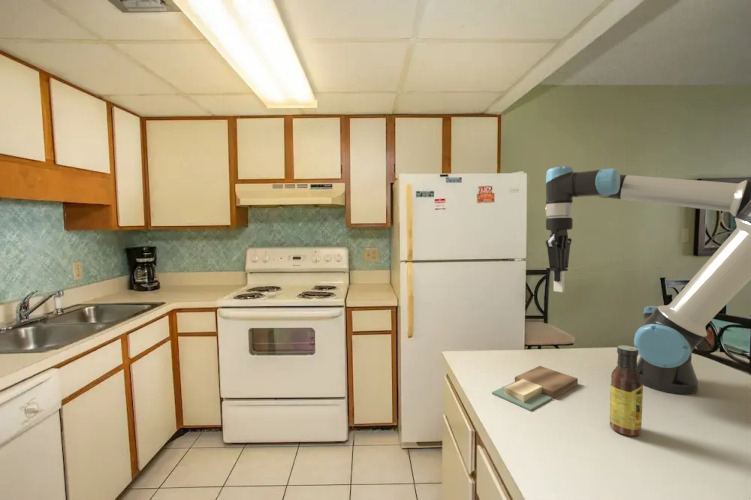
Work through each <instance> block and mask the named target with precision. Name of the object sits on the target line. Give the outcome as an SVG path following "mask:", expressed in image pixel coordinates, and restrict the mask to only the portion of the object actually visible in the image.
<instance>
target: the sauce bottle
mask: <svg viewBox="0 0 751 500" xmlns="http://www.w3.org/2000/svg"><path fill="white" fill-rule="evenodd" d="M616 348H617V349H616V353H617V363H616V364H617V365H616V367H614V369H613V370H612V372H611V376H610V377H611V383H610V389H609V390H610V391H609V395H610V396H609V397H610V398H609V425H610V428H611V429H612V430H614V432H616V433H619V434H621V435H625V436H627V437H628V436H629V437H634V436H635V437H636V436H637V437H638V436H639V435H640V433H641V430H642V419H643V418H642V417H643V401H644V399H643V397H644V395H643V393H644V391H643V390H644V385H643V382H642V379H641V377H640V374H639V371H638V368H637V363H638V357H639V356H638V355H639V354H638V349H637V348H635V346H630V345H617V347H616Z"/></svg>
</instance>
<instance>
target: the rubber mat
mask: <svg viewBox="0 0 751 500" xmlns="http://www.w3.org/2000/svg"><path fill="white" fill-rule="evenodd" d="M513 383H515V381H514V382H511V383H509V384H507V385H505V386H502V387H500V388H498V389H496V390H493V391H491V394H492V395H494V396H495V397H498V398H500V399H503V400H504V401H507V402H508V403H511V404H513V405H516V406H518V407H521V408H522V409H524V410H527V411H529V412H532V411H534V410H536V409H537V408H539V407H541V406H542V405H544V404H546V403H548V402H550V401H551V400H553V399H552V397H549V396H547V395H544V394H542V393H541V394H539V395H537V396H535V397H533V398H532V399H530V400H528V401H526V402H524V403H523V402H521V401H519V400H517V399H514V398H512V397H510V396H508V395H505V387H507V386H509V385H511V384H513Z"/></svg>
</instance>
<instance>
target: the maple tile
mask: <svg viewBox="0 0 751 500" xmlns="http://www.w3.org/2000/svg"><path fill="white" fill-rule="evenodd" d="M512 383H513V382H512ZM510 384H511V383H510ZM508 385H509V384H508ZM506 386H507V385H506ZM541 393H542V386H540V385H537V384H535V383H532V382H530V381H527V380H524V379H522V380H520V381H518V382H515V381H514V383H513V384H511V385H509V386H507V387H505V395H508V396H510V397H512V398H514V399H517V400H519V401H521V402H523V403H524V402H526V401H528V400H530V399H532V398H533V397H535V396H537V395H539V394H541Z"/></svg>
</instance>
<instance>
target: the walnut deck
mask: <svg viewBox="0 0 751 500" xmlns="http://www.w3.org/2000/svg"><path fill="white" fill-rule="evenodd" d="M522 379H524V380H527V381H530V382H532V383H535V384H537V385H540V386H542V394H544V395H547V396H549V397H552V400H553V399H555V398H557V397H558V396H561V395H562V394H564V393H566V392H568V391H569V390H571V389H573V388H575V387H576V386H578V383H579V379H578V378H577V377H575V376H571V375H569V374H565V373H562V372H560V371H557V370H553V369H551V368H548V367H545V366H542V365H539V366H537V367H534V368H531V369H530V370H528V371H525V372H523V373H521V374H519V375H516V376H514V383H515V382H518V381H520V380H522Z"/></svg>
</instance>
